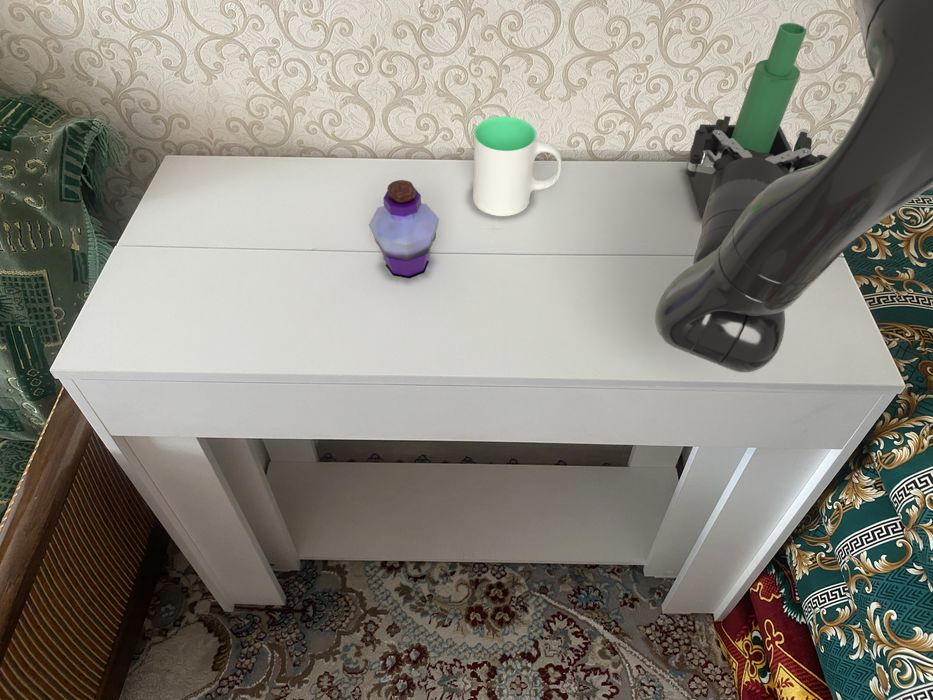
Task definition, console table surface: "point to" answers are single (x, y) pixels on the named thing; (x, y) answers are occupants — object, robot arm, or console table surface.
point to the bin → (704, 180)
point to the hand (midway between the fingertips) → (762, 130)
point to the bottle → (770, 91)
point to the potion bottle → (404, 230)
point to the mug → (507, 165)
